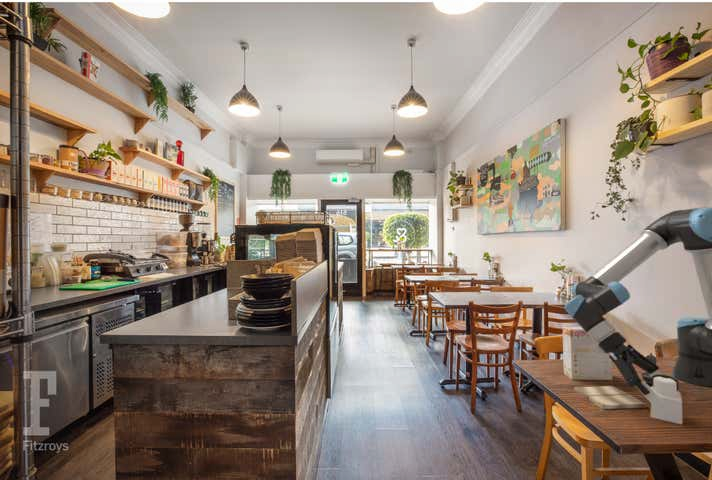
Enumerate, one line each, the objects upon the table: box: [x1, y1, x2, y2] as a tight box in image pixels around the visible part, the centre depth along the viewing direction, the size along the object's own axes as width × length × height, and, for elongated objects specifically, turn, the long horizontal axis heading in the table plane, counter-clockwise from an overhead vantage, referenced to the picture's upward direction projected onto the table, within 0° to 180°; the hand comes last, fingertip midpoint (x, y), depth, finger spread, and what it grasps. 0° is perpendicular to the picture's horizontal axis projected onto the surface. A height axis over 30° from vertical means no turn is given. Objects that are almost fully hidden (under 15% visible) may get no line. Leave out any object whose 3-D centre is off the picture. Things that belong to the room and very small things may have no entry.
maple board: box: [573, 385, 647, 410], centre depth 121 cm, size 14×14×1 cm
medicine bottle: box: [649, 374, 683, 425], centre depth 108 cm, size 7×7×12 cm
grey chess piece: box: [641, 352, 657, 387], centre depth 130 cm, size 6×6×12 cm
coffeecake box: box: [562, 324, 614, 381], centre depth 140 cm, size 15×7×20 cm, turn 84°
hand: (665, 397), depth 107 cm, fingers open, 13 cm apart
